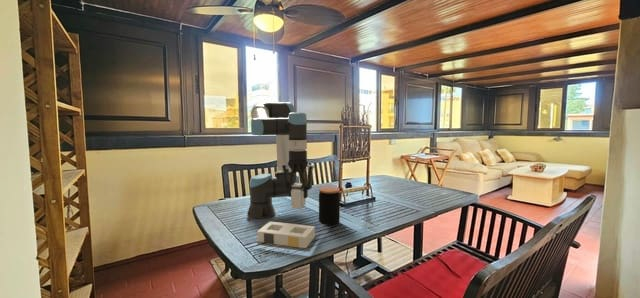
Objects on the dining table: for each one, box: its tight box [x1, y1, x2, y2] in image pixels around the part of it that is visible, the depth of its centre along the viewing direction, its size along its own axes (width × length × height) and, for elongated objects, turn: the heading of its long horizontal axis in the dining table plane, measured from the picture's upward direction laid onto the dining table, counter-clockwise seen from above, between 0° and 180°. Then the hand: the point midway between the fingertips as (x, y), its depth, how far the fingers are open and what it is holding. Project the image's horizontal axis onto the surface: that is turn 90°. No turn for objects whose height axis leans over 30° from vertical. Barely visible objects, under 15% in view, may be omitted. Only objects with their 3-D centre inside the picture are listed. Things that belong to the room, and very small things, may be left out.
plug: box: [291, 182, 305, 210], centre depth 116 cm, size 4×4×10 cm
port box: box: [256, 221, 316, 253], centre depth 120 cm, size 22×12×6 cm, turn 73°
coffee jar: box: [318, 186, 341, 227], centre depth 142 cm, size 11×11×18 cm
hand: (298, 204), depth 117 cm, fingers closed on plug, 4 cm apart
